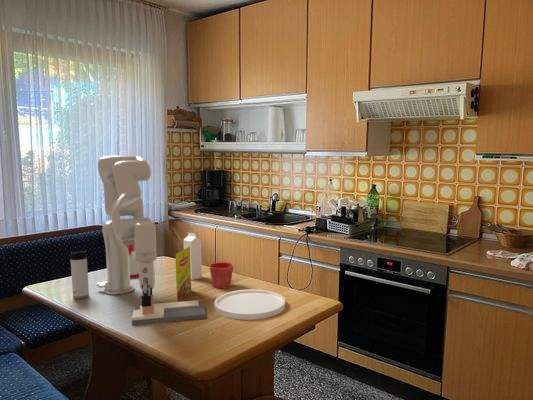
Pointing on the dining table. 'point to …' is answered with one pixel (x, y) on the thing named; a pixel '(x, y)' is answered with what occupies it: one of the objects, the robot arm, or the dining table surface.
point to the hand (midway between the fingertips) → (147, 301)
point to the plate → (249, 304)
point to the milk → (194, 255)
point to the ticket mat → (176, 312)
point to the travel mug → (79, 275)
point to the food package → (183, 273)
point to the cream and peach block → (148, 312)
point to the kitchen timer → (133, 263)
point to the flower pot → (221, 274)
